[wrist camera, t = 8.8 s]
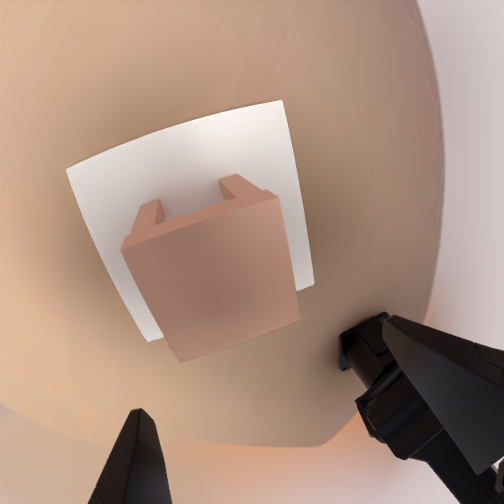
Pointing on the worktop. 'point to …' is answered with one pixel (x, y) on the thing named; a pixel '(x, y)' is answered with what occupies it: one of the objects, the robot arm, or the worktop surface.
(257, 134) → the white board
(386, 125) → the worktop surface
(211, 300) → the stool
